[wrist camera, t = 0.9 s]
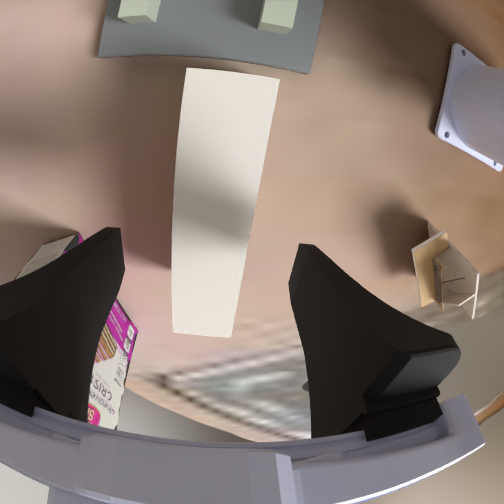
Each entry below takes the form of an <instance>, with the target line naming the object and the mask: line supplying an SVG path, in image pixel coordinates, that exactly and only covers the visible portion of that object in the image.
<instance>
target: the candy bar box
mask: <svg viewBox="0 0 504 504" xmlns="http://www.w3.org/2000/svg"><path fill="white" fill-rule="evenodd" d="M81 242H83V239H82V237H81V235H80V233H77V234H73V235H70V236H68V237H66V238H63V239H61V240H57V241H54V242H51V243H48V244H45V245H42V246H41V247H40V248H39V249H38V250H37V251H36V253H35V254H34V255H33V256H32V257H31V259H30V260H29V261H28V263H27V264H26V265H25V266H24V268H23V269H22V270H21V271H20V273H19V274H18V275H17V277H16V278H15V279H14V280H16V279H18V278H20V277H22V276H25V275H27V274H29V273H31V272H33V271H35V270H37V269H39V268H41V267H43V266H45V265H46V264H48V263H50V262H52V261H53V260H55V259H56V258H58V257H60V256H61V255H63V254H64V253H66V252H68V251H69V250H71V249H72V248H74V247H75V246H77V245H78V244H80V243H81ZM137 333H138V330H137V329H136V327H135V326H134V324H133V323H132V321H131V320H130V319H129V317H128V316H127V314H126V312H125V311H124V310H123V308H122V306H121V305H120V303H119V302H118V300H117V299H115V302H114V304H113V306H112V309H111V311H110V314H109V316H108V319H107V321H106V323H105V326H104V329H103V331H102V334H101V337H100V340H99V344H98V348H97V352H96V357H95V361H94V367H93V372H92V378H91V385H90V393H89V402H88V420H87V423H89V424H93V425H97V426H101V427H105V428H109V429H114V430H116V429H117V423H118V416H119V410H120V405H121V401H122V397H123V392H124V386H125V382H126V377H127V373H128V369H129V364H130V360H131V356H132V352H133V348H134V344H135V341H136V337H137Z"/></svg>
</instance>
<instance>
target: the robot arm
mask: <svg viewBox="0 0 504 504" xmlns="http://www.w3.org/2000/svg"><path fill="white" fill-rule="evenodd" d="M462 52H463V55H462ZM445 132H446V136H445ZM435 135H436V136H437V137H438V138H440V139H442V140H444V141H446V142H448V143H450V144H452V145H454V146H456V147H458V148H459V149H461V150H463V151H465V152H467V153H469V154H470V155H472V156H474V157H476V158H477V159H479V160H481V161H482V162H484V163H486V164H487V165H489V166H491V167H492V168H494V169H495V170H497V171H499V172H500V171H501V170H502V168H503V166H504V69H501V68H495V67H489V66H487V65H486V64H484V63H483V62H482V61H481V60H480V59H478V58H477V57H476V56H475V55H473V54H472V53H471V52H469V51H468V50H467V49H466V48H464V47H463V46H462V45H460V44H458V43H454V44H453V45H452V50H451V57H450V64H449V69H448V75H447V80H446V85H445V90H444V95H443V100H442V104H441V108H440V112H439V116H438V120H437V124H436V128H435ZM124 272H125V265H124V257H123V249H122V240H121V231H120V228H112V227H106V228H104V229H102V230H100V231H99V232H97V233H95V234H94V235H92V236H91V237H89V238H88V239H86V240H85V241H83V242H81V243H80V244H78V245H77V246H75V247H74V248H72V249H71V250H69V251H68V252H66V253H64V254H63V255H61V256H60V257H58V258H56V259H55V260H53V261H52V262H50V263H48V264H46V265H45V266H43V267H41V268H39V269H37V270H35V271H33V272H31V273H29V274H27V275H25V276H22V277H20V278H18V279H16V280H13V281H11V282H9V283H6V284H3V285H1V286H0V462H1V463H3V464H5V465H6V466H8V467H10V468H12V469H14V470H16V471H18V472H20V473H21V474H23V475H25V476H27V477H30V478H31V479H33V480H36V481H38V482H40V483H42V484H44V485H47V486H49V494H48V502H47V504H358V503H361V502H365V501H368V500H371V499H374V498H377V497H380V496H383V495H386V494H388V493H391V492H394V491H396V490H399V489H402V488H404V487H407V486H409V485H412V484H414V483H416V482H418V481H421V480H423V479H425V478H427V477H429V476H431V475H433V474H435V473H437V472H440V471H441V470H443V469H445V468H447V467H449V466H451V465H452V464H454V463H456V462H457V461H460V460H461V459H463V458H464V457H466V456H468V455H469V454H471V453H473V452H474V451H476V450H477V449H479V448H480V447H482V446H483V445H485V440H484V437H483V435H482V432H481V430H480V427H479V425H478V423H477V420H476V418H475V416H474V414H473V411H472V409H471V407H470V405H469V402H468V400H467V398H466V396H465V394H460V395H457V396H454V397H451V398H449V399H447V400H444V401H443V402H441V403H438V401H437V398H436V397H438V396H439V395H440V391H439V389H438V387H437V385H439V384H440V383H441V382H442V381H443V380H444V378H445V377H447V375H448V374H449V373H450V372H451V371H452V370H453V369H454V367H455V366H456V365H457V363H458V361H459V359H460V355H461V351H460V349H459V347H458V345H457V344H456V342H455V340H454V339H453V337H452V336H451V335H450V334H448V333H446V332H443V331H440V330H438V329H435V328H433V327H430V326H428V325H425V324H423V323H421V322H419V321H417V320H415V319H413V318H411V317H409V316H407V315H405V314H403V313H401V312H400V311H398V310H396V309H394V308H393V307H391V306H389V305H388V304H386V303H385V302H383V301H382V300H380V299H379V298H377V297H376V296H374V295H373V294H372V293H370V292H369V291H367V290H366V289H365V288H364V287H362V286H361V285H360V284H359V283H357V282H356V281H355V280H354V279H352V278H351V277H350V276H349V275H348V274H347V273H345V272H344V271H343V270H342V269H341V268H340V267H339V266H338V265H336V264H335V263H334V262H333V261H332V260H331V259H330V258H329V257H328V256H327V255H325V254H324V253H323V252H322V251H321V250H320V249H319V248H317V247H316V246H315V245H311V244H300V243H299V247H298V251H297V254H296V258H295V262H294V265H293V269H292V272H291V276H290V279H289V292H290V300H291V305H292V309H293V313H294V317H295V320H296V324H297V328H298V331H299V335H300V339H301V342H302V346H303V350H304V355H305V361H306V368H307V376H308V385H309V395H310V410H311V439H304V440H293V441H280V442H258V443H223V442H221V443H220V442H200V441H188V440H176V439H168V438H159V437H153V436H146V435H140V434H134V433H128V432H124V431H118V430H114V429H109V428H105V427H101V426H97V425H93V424H89V423H87V420H88V402H89V393H90V385H91V378H92V372H93V367H94V361H95V357H96V352H97V348H98V344H99V340H100V337H101V334H102V331H103V329H104V326H105V323H106V321H107V319H108V316H109V314H110V311H111V309H112V306H113V304H114V302H115V299H116V297H117V294H118V292H119V289H120V286H121V283H122V279H123V276H124Z"/></svg>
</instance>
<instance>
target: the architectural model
mask: <svg viewBox="0 0 504 504" xmlns="http://www.w3.org/2000/svg"><path fill="white" fill-rule="evenodd" d="M427 225H428V232H429V238H430V239H428V240H426V241H424V242H423V243H421V244H419V245H418V246H416V247H414V248H412V249H411V250H412V255H413V261H414V266H415V273H416V279H417V286H418V293H419V301H420V306H421V307H423V306H425V305H427V304H429V303H430V302H432V301H434V300H435V301H436V302H437V304H438V305H439V307H440V308H441V310H442V311H444V309H443V304H447V305H452V306H458V307H459V306H460V305H462V306H463V307H464V309H465V310H466V312H467V313H468V314H469V316H470V317H471V319H473V318H474V313H475V306H476V299H477V291H478V281H479V272H478V271H477V270H476V269H475V268H474V267H473V266H472V264H471V263H470V262H469V261H468V260H467V259H466V258H465V257H464V256H463V255H462V254H461V253H460V252H459V251H458V250H457V249H456V248H455V247H454V246H453V245H452V244H451V243H450V242H449V241H448V240H447V232H446V231H445V230H443V231H441V232H439V231H438V230H437V229H436V228H435V227H434V226H433V225H432V224H431V223H429V222H428V223H427ZM440 303H441V304H442V306H441V305H440Z"/></svg>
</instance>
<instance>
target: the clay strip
mask: <svg viewBox="0 0 504 504" xmlns="http://www.w3.org/2000/svg"><path fill="white" fill-rule="evenodd" d="M279 81H280V79H275V78H269V77H264V76H258V75H251V74H245V73H237V72H229V71H221V70H210V69H198V68H187V70H186V76H185V83H184V90H183V98H182V105H181V114H180V123H179V132H178V142H177V153H176V166H175V180H174V197H173V220H172V318H173V332H174V333H183V334H193V335H203V336H215V337H228V338H231V334H232V329H233V323H234V318H235V312H236V307H237V302H238V296H239V291H240V285H241V280H242V275H243V269H244V264H245V259H246V253H247V248H248V243H249V237H250V232H251V227H252V221H253V216H254V211H255V206H256V200H257V195H258V190H259V184H260V179H261V174H262V169H263V164H264V158H265V153H266V148H267V143H268V138H269V132H270V127H271V122H272V117H273V112H274V107H275V102H276V96H277V91H278V86H279Z"/></svg>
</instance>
